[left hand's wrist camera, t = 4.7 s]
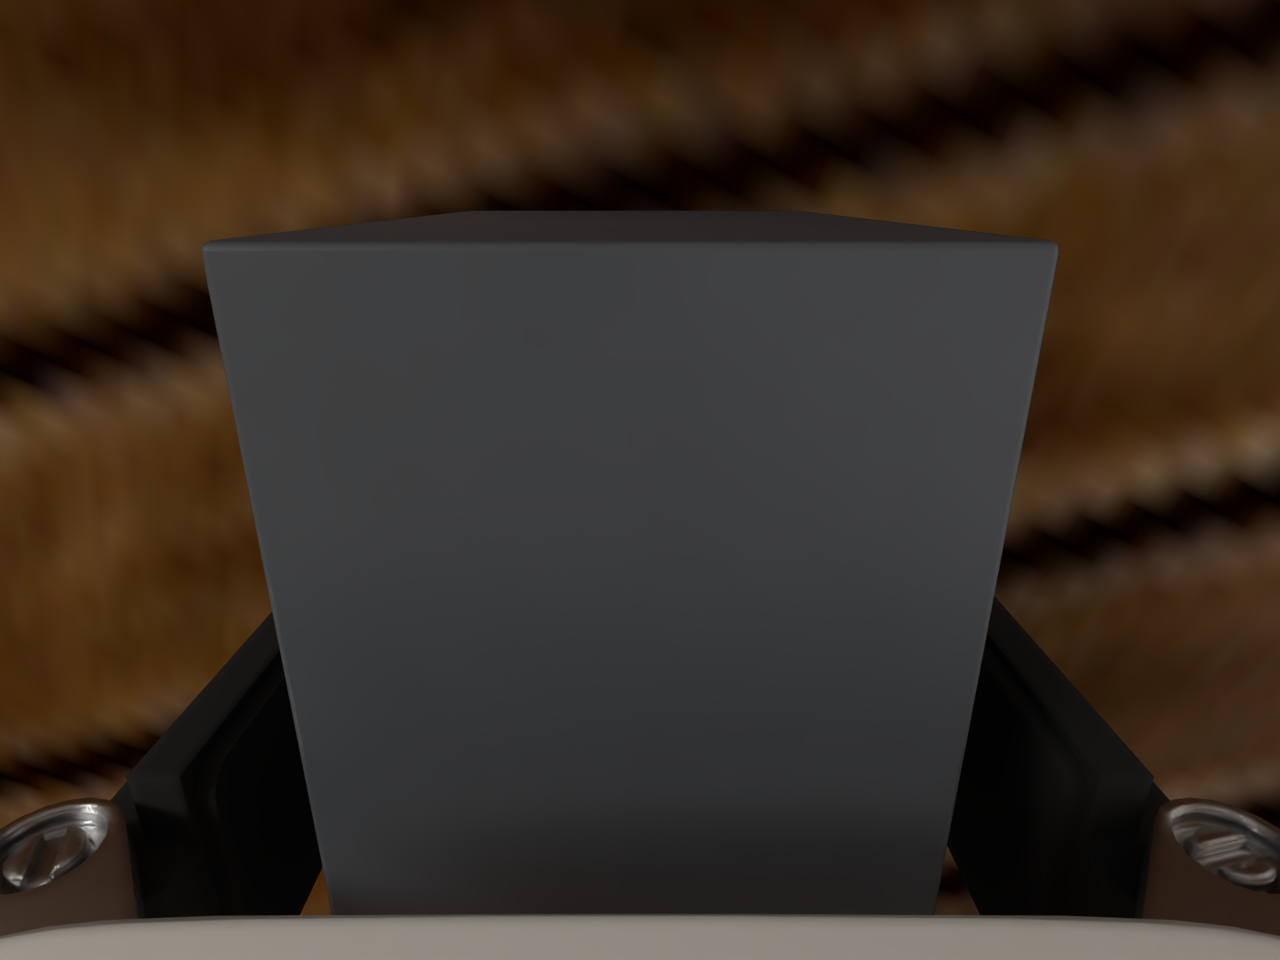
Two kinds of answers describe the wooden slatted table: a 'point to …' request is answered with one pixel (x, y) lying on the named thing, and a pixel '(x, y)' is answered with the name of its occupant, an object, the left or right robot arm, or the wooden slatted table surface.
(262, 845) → the left robot arm
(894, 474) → the beam
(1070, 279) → the wooden slatted table surface
